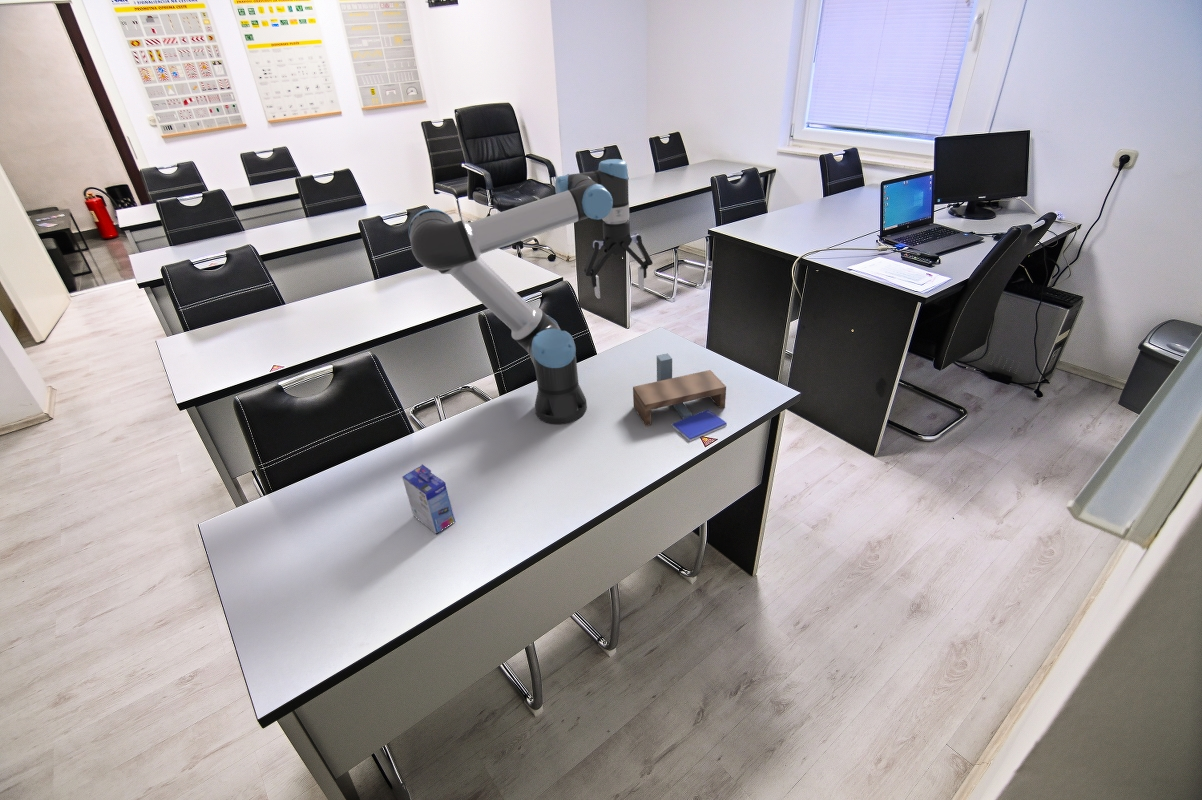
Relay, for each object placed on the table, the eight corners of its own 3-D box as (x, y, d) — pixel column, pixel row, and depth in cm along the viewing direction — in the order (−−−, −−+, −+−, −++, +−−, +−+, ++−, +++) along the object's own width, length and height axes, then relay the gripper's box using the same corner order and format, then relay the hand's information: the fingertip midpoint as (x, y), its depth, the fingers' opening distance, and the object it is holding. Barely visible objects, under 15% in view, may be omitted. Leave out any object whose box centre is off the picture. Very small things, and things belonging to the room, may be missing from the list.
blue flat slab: (707, 408, 159) (671, 423, 154) (726, 422, 153) (689, 438, 148) (707, 413, 160) (671, 427, 155) (726, 427, 154) (689, 443, 149)
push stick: (681, 420, 157) (682, 386, 151) (657, 387, 172) (656, 355, 166) (693, 417, 158) (694, 384, 151) (667, 384, 173) (667, 353, 167)
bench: (645, 426, 156) (645, 405, 152) (633, 407, 164) (632, 386, 160) (724, 407, 161) (726, 386, 157) (709, 390, 169) (710, 369, 165)
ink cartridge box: (457, 521, 129) (443, 473, 122) (437, 536, 126) (422, 487, 118) (433, 503, 135) (418, 456, 127) (413, 516, 132) (396, 468, 124)
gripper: (575, 230, 150) (582, 304, 161) (663, 217, 155) (663, 289, 166) (568, 223, 156) (575, 295, 167) (653, 210, 161) (654, 281, 173)
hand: (619, 292), depth 167 cm, fingers open, 13 cm apart
